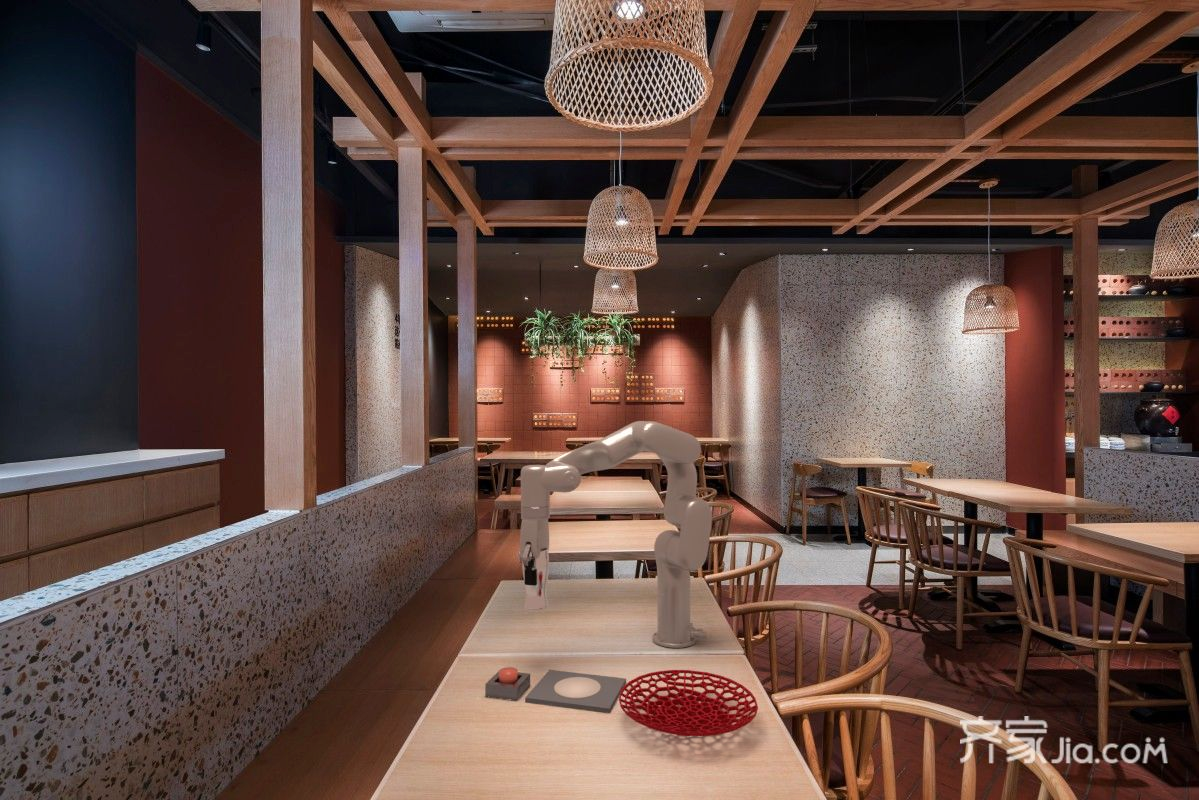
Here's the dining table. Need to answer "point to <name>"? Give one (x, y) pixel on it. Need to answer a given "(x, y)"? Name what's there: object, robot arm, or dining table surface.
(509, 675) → the button
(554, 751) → the dining table surface
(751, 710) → the bowl
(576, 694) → the grey rectangular board
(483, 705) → the dining table surface
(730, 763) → the dining table surface
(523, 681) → the button housing
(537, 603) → the beer glass
